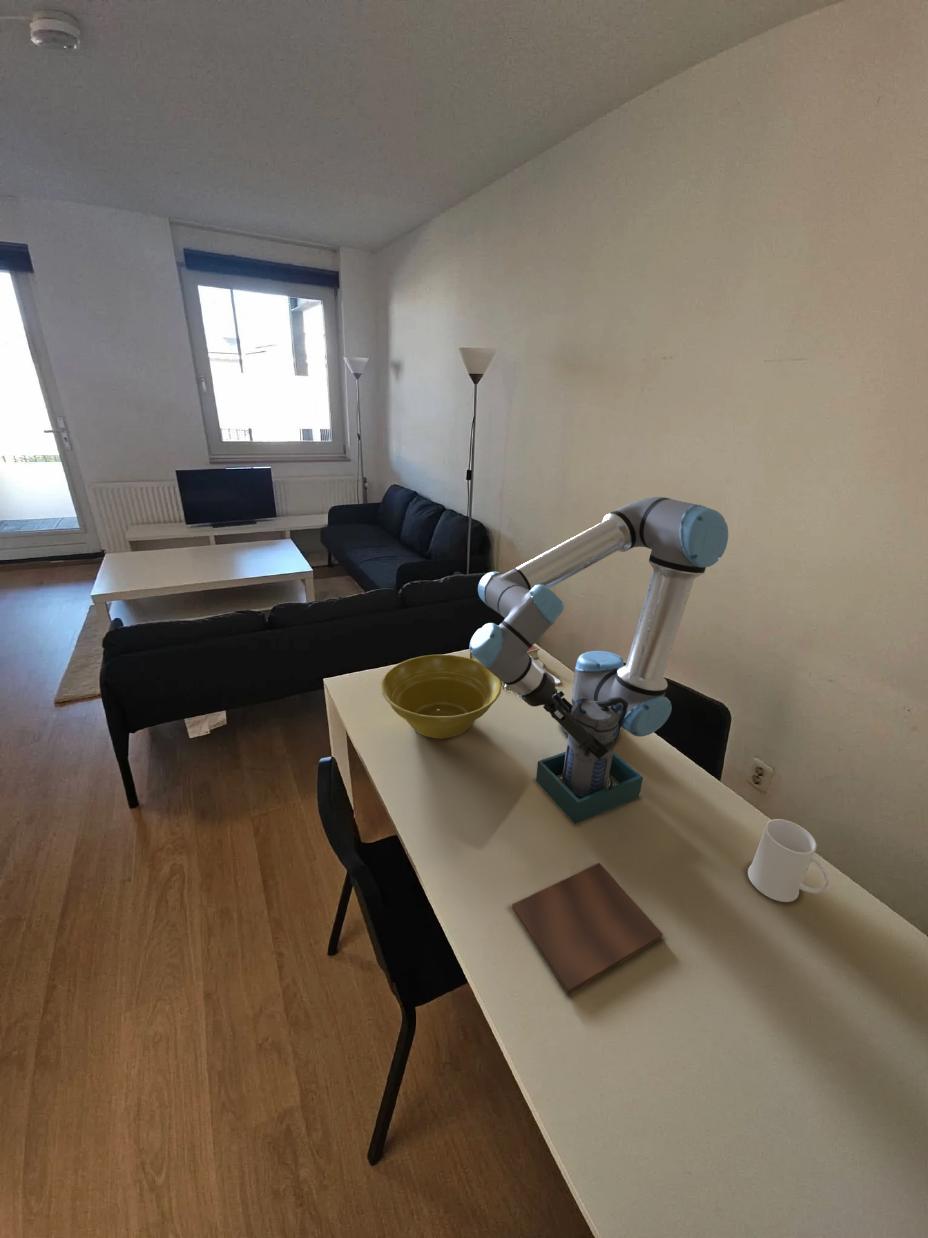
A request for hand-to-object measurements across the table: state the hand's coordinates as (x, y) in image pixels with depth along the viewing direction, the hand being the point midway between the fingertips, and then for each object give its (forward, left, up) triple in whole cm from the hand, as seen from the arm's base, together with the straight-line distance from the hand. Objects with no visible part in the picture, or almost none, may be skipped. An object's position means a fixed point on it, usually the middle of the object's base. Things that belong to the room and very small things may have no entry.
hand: (589, 734), depth 112 cm
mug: (-17, +37, -16) cm, 44 cm away
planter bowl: (+19, -38, -16) cm, 45 cm away
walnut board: (+21, +26, -16) cm, 37 cm away
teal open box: (-1, 0, -16) cm, 16 cm away
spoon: (-25, -50, -16) cm, 58 cm away
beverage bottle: (-1, 0, -16) cm, 16 cm away
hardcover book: (-17, -63, -16) cm, 67 cm away
